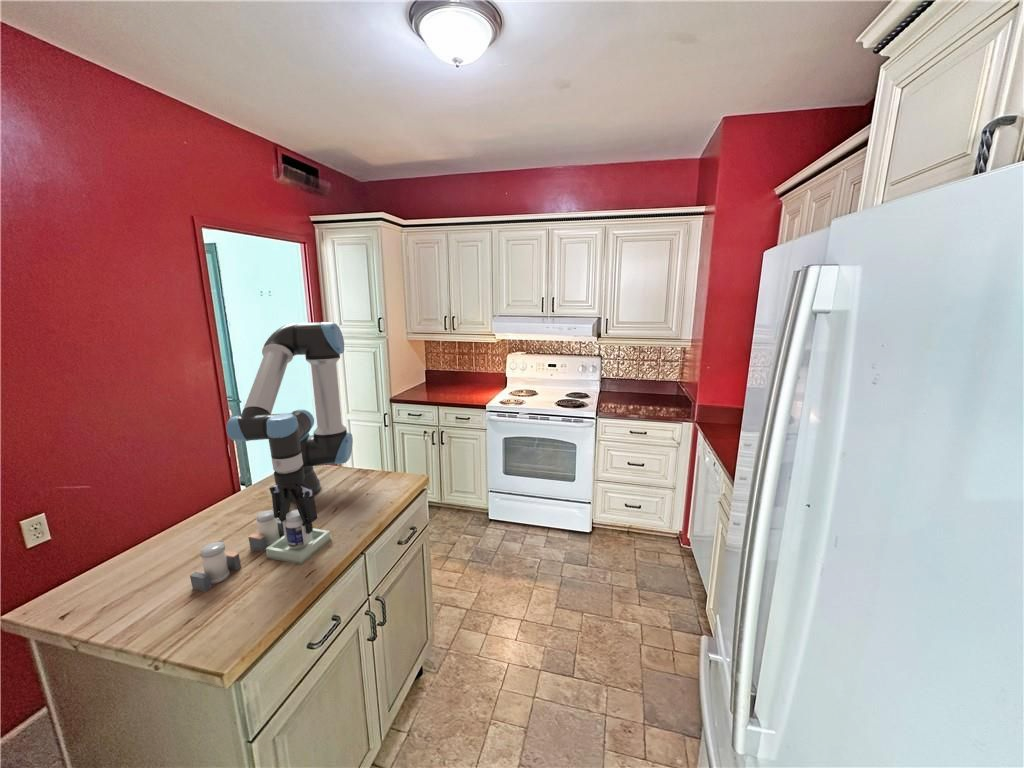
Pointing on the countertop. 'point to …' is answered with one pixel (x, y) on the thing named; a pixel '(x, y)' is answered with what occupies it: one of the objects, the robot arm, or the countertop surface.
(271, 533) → the fuse
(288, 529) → the pill bottle
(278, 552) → the tray
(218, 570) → the white rounded cylinder
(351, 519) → the countertop surface
